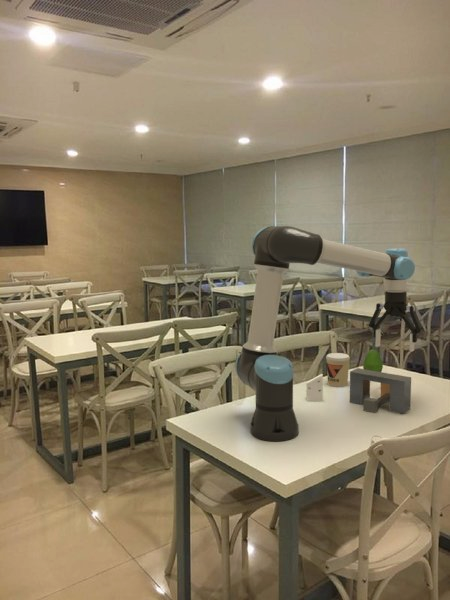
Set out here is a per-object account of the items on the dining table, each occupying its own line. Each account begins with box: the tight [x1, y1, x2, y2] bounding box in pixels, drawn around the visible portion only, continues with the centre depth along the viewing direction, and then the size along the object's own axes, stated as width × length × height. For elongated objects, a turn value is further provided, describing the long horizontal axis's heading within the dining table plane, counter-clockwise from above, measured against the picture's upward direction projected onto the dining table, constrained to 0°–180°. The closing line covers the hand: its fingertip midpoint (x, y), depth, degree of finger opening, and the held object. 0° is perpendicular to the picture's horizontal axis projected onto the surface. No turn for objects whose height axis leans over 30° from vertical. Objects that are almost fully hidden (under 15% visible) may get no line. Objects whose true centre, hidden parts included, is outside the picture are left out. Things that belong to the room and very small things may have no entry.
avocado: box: [362, 349, 384, 372], centre depth 214 cm, size 8×8×12 cm
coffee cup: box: [325, 352, 350, 388], centre depth 205 cm, size 9×9×12 cm
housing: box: [349, 367, 412, 415], centre depth 179 cm, size 6×20×12 cm, turn 49°
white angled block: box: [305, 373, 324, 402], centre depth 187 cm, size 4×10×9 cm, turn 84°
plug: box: [362, 383, 390, 414], centre depth 181 cm, size 22×7×8 cm, turn 138°
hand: (394, 348), depth 186 cm, fingers open, 12 cm apart
